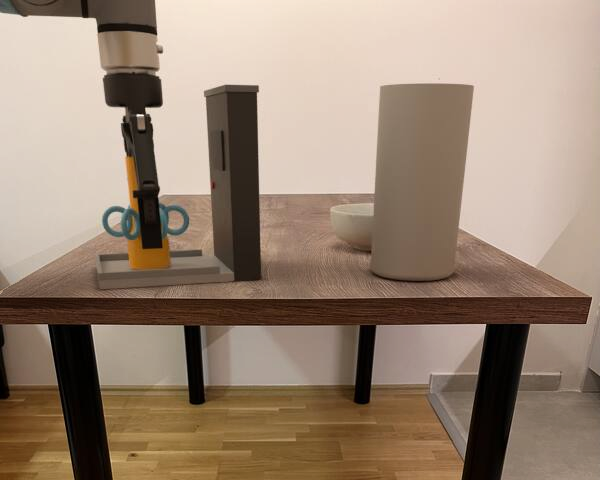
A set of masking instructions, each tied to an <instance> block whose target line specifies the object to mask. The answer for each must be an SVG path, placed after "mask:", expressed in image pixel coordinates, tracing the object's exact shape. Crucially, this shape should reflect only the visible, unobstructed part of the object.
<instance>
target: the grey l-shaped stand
mask: <svg viewBox="0 0 600 480" xmlns="http://www.w3.org/2000/svg"><path fill="white" fill-rule="evenodd" d="M258 93H260V86H259V85H257V84H222V85H219V86H216V87H211V88H208V89H206V90H204V91H203V97H204V98H205V107H206V108H205V110H206V127H207V130H206V131H207V147H208V167H209V184H210V185H209V186H210V203H211V220H212V221H211V223H212V224H211V225H212V241H213V254H203V249H202V248H197V249H195V248H193V249H177V250H176V249H175V250H170V260H171V265H170V267H168V268H165V269H151V270H136V269H132V268H131V267H130V264H129V255H128V252H112V253H111V252H110V253H95V254H94V259H95V265H96V266H95V267H96V273H97V279H98V286H99V290H114V289H130V288H132V289H133V288H145V287H146V288H148V287H161V286H163V287H165V286H177V285H178V286H180V285H195V284H210V283H225V282H226V283H228V282H243V281H261V280H262V257H261V254H262V252H261V249H262V248H261V213H260V212H261V210H260V209H261V208H260V206H261V205H260V165H259V159H260V158H259V120H258V119H259V117H258V116H259V115H258Z"/></svg>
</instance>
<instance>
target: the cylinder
mask: <svg viewBox="0 0 600 480" xmlns="http://www.w3.org/2000/svg"><path fill="white" fill-rule="evenodd" d="M124 160H125V169H126V179H128V180H127V187H128V198H129V204H128V206H127V208H125V207H123V206H120V205H112V206H110V207H108V208H106V209H105V210H104V212H103V214H102V218H101V223H102V227H103V229H104V230H105V231H106V233H107V234H108V235H110V236H112V237H114V238H123V237H125V239H126V244H127V253H128V255H129V264H130V267H131V268H132V269H136V270H151V269H165V268H168V267H170V265H171V260H170V251H171V248H170V239H169V236H168V235H170V236H180V235H182V234H184V233H185V232H186V231H187V230H188V228H189V226H190V225H189V224H190V217H189V214H188V212H187V210H186V209H185V208H183V207H182V206H180V205H178V204H169V205H167V206H166V205H165V204H164V203H163V202H159V210H160V221H161V233H162V244H163V248H157V249H142V241H141V231H140V221H139V211H138V201H137V198H133V190H138V188H137V182H136V176H135V169H134V163H133V157H132V156H131V157H126V156H125V157H124ZM172 211H175V212H177V213H179V214H180V215H181V216H182V218H183V224H182V225H181V226H180V228H178V229H172V228H170V227H169V220H170V216H169V212H172ZM113 213H121V214H122V215H121V218H120V229H121V230H120V231H116V230H113V228H111V227H110V225H109V217H110V215H112V214H113Z"/></svg>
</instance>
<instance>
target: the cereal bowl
mask: <svg viewBox="0 0 600 480" xmlns="http://www.w3.org/2000/svg"><path fill="white" fill-rule="evenodd" d="M373 212H374V202H369V203H367V202H365V203H362V202H361V203H347V204H338V205H333V206H331V207H330V209H329V217H330V218H329V219H330V226H331V229H332V231H333V233H334V234H335V236H336V237H337V238H338V239H339V240H341V241H343V242H344V243H347V244H349V245H351V246H352V247H353V248H354V249H355V250H357V251H363V252H371V250H372V231H373Z"/></svg>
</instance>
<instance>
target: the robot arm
mask: <svg viewBox="0 0 600 480" xmlns="http://www.w3.org/2000/svg"><path fill="white" fill-rule="evenodd" d="M0 14H6V15H17V16H20V17H22V18H27V17H29V16H30V17H31V16H32V17H57V18H58V17H59V18H60V17H61V18H82V19H94V20H95V21H96V31H97V34H96V36H97V44H98V55H99V62H100V68H101V69H102V70H103V71H105V72H106V73H105V74H104V75H103V77H102V85H103V86H102V87H103V95H104V103H105V104H106V106H107V107H109V108H124V110H125V112H124V114H125V115H123V116H122V122H121V123H120V131H121V136H122V138H123V148H124V152H125V155H126V156H125V157H131V156H132V157H133V163H134V169H135V176H136V182H137V188H138V190H133V198H137V201H138V211H139V221H140V231H141V241H142V249H157V248H163V244H162V233H161V221H160V210H159V203H160V200H159V199H160V198H159V195H160V191H161V186H160V185H159V176H158V169H157V162H156V154H155V142H154V125H153V123H152V117H151V114H150V113H147V110H146V109H159V108H162V106H163V104H164V100H163V99H164V98H163V86H162V85H163V84H162V78H160V76H158V75H156V73H157V72H159V70H161V67H160V66H161V65H160V63H161V62H160V57H159V56H160V55H162V54H163V53H164V47H163V45H160V44H157V43H158V41H159V39H158V24H157V23H158V22H157V9H156V0H0ZM126 179H127V178H126ZM126 181H128V179H127V180H126Z"/></svg>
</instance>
